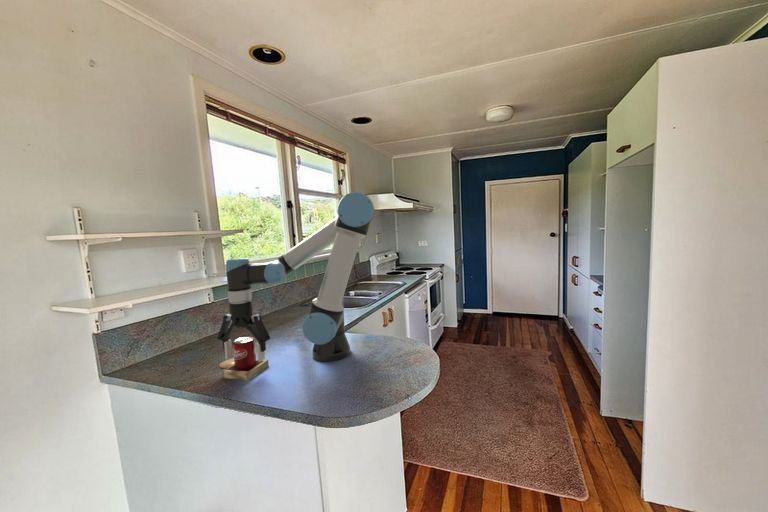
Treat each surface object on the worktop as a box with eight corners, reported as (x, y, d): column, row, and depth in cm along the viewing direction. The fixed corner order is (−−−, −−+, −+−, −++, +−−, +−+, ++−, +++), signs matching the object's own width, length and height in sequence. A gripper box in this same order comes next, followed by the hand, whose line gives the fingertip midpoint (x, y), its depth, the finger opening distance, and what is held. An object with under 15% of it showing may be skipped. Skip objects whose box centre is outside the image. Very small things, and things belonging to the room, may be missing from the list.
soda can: (243, 378, 105) (240, 344, 104) (230, 373, 109) (228, 341, 108) (261, 369, 111) (258, 338, 110) (249, 366, 115) (246, 335, 114)
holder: (268, 366, 114) (268, 359, 114) (249, 380, 104) (248, 373, 103) (243, 364, 117) (243, 358, 117) (222, 377, 106) (221, 371, 106)
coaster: (247, 360, 121) (247, 358, 121) (232, 368, 113) (232, 367, 113) (230, 359, 123) (229, 357, 123) (214, 367, 115) (214, 366, 115)
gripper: (277, 299, 109) (281, 356, 111) (219, 298, 115) (223, 353, 116) (264, 304, 102) (269, 365, 103) (203, 303, 108) (208, 361, 109)
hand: (245, 359), depth 110 cm, fingers open, 13 cm apart
